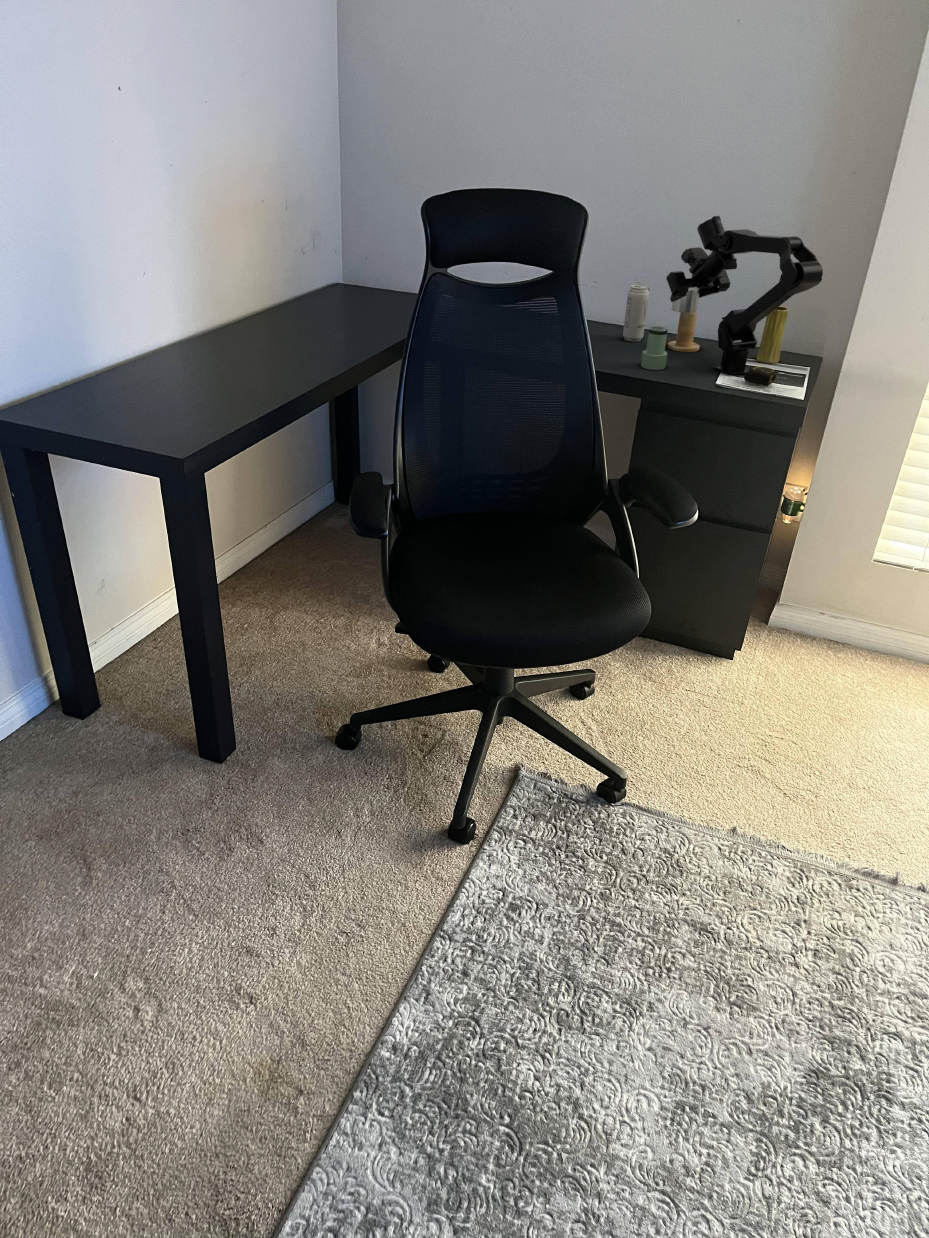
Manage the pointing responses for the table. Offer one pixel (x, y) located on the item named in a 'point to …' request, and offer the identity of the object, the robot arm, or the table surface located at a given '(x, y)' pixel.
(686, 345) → the peg
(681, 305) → the cap
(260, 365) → the table surface
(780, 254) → the robot arm
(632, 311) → the energy drink can
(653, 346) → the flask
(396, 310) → the table surface
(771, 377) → the tape measure
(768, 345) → the vase
